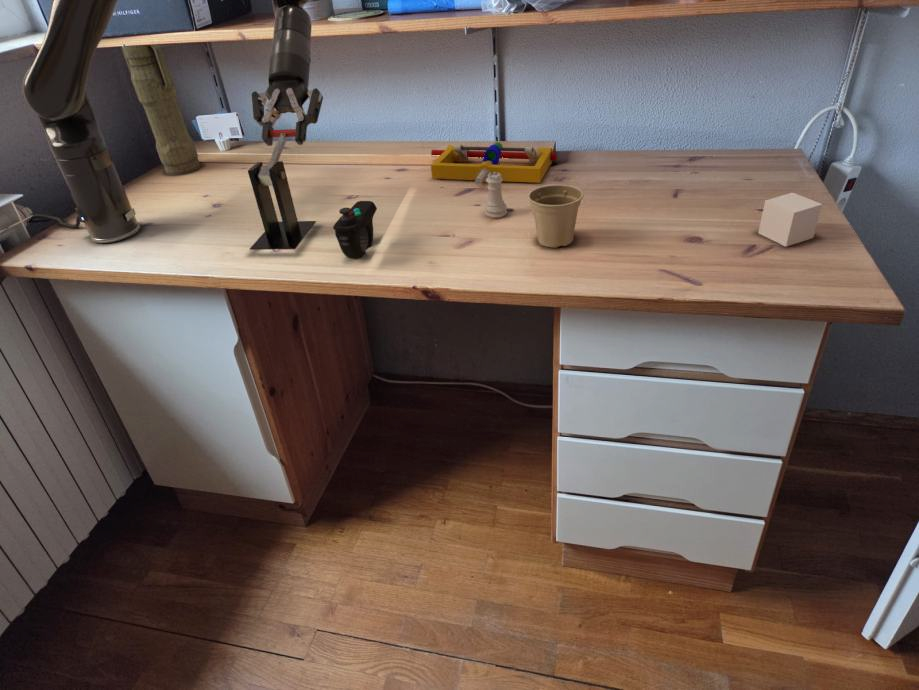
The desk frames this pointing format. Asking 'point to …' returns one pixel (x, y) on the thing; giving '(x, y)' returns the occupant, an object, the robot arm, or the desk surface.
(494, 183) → the rook chess piece
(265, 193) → the bracket
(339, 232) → the controller
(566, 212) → the flower pot
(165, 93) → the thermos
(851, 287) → the desk surface
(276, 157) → the lever
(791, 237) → the beige cube
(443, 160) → the mechanical clamp
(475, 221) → the desk surface
